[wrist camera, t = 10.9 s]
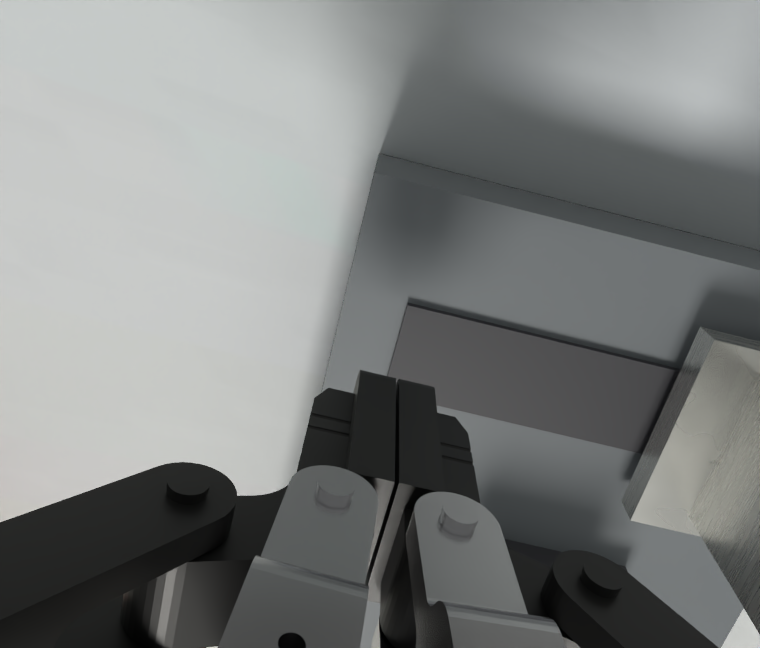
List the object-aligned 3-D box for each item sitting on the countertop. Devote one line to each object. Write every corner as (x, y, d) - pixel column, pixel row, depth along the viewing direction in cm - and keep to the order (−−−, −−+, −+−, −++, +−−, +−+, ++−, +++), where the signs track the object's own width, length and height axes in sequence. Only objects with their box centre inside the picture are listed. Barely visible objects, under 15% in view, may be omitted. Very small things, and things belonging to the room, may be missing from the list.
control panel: (224, 796, 28) (196, 911, 24) (378, 153, 18) (372, 180, 15) (535, 859, 29) (555, 980, 25) (839, 271, 19) (944, 325, 15)
